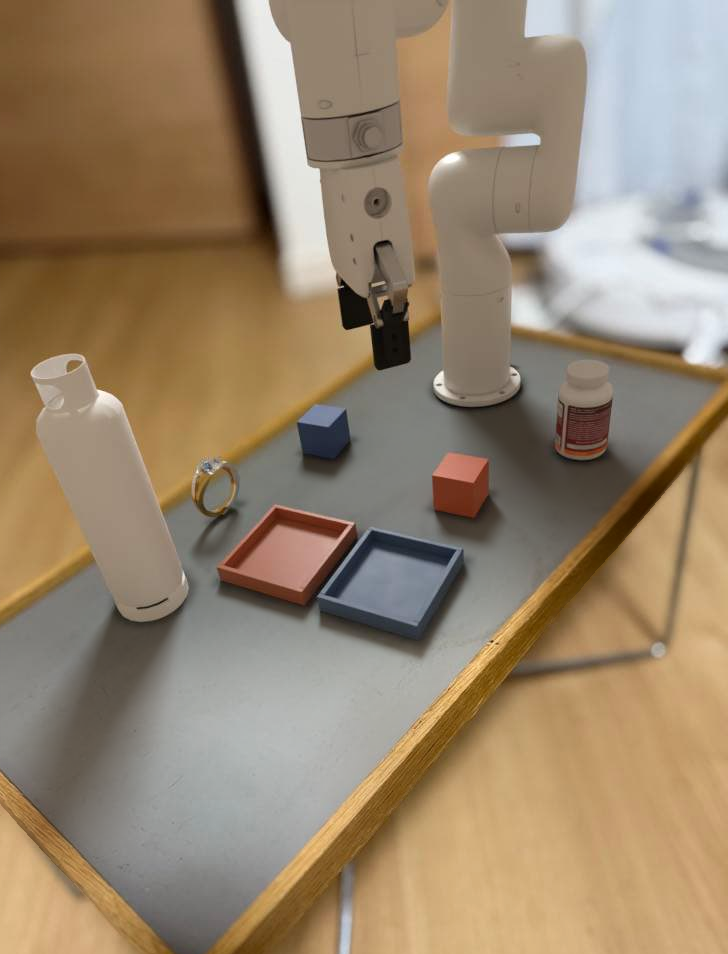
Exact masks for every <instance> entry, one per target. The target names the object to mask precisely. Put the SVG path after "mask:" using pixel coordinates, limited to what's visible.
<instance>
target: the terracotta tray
mask: <svg viewBox="0 0 728 954" xmlns="http://www.w3.org/2000/svg"><path fill="white" fill-rule="evenodd" d="M357 537H358V530H357V525H356V522H354V521H349V520H344V519H341V518H337V517H332V516H329V515H328V516H327V515H323V514H319V513H315V512H311V511H306V510H302V509H297V508H293V507H290V506H289V507H288V506H285V505H282V504H281V505H280V504H276V503H274V504H273V505H272V506H271V507H270V508H269V510H267V511H266V513H265V514H264V515H263V516H262V517H261V518H260V519H259V520H258V521H257V523H255V525H254V526H253V527H252V528H251V529H250V530H249V531H248V533H246V534H245V536H243V538H241V540H240V541H239V542H238V543H237V544H236V545H235V547H234V548H232V550H231V551H230V552H229V553H228V554H227V555H226V556H225V557H224V558H223V559H222V561H220V563H219V564H218V565H217V566H216V570H217V573H218V576H219V579H220V581H222V582H226V583H229V584H232V585H235V586H239V587H242V588H245V589H249V590H251V591H255V592H259V593H262V594H264V595H267V596H272V597H274V598H278V599H281V600H285V601H287V602H291V603H294V604H298V605H301V606H303V607H305V606H306V605H307V604H308V602H309V601H310V600H311V598H312V597H313V595H314V594H315V593H316V592H317V590H318V589H319V587H320V586H321V585H322V584H323V583H324V581H325V580H326V578H327V577H328V576H329V574H330V573H331V572H332V570H333V569H334V568H335V567H336V565H337V564H338V563H339V561H340V560H341V558H342V557H343V556H344V555H345V553H346V552H347V551H348V549H349V548H350V547H351V545H352V544H353V543H354V541H355V540H356V539H357Z"/></svg>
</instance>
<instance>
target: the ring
mask: <svg viewBox="0 0 728 954" xmlns="http://www.w3.org/2000/svg"><path fill="white" fill-rule="evenodd" d="M221 469H222V470H224V471H225V472H226V473H227V475H228V477H229V480H230V492H229V495H228V497H227V499H226V501H225V502H224V503H223V504H222V503H221V504H219V505H218V506H217V508H216V509H214V510H213V509H212V510H207V508H206V507H205V505H204V497H205V493H206V490H207V488H208V486H209V484H210V482H211V480H212V479H213V477H214V475H215V474H217V472H218V471H220V470H221ZM202 474H203V475H206V474H207V475H206V476H205V477H204V478H203V479H202V481H201V482H200V479H201V476H202ZM240 481H241V479H240V475H239V473H238V470H237V468H236V467H235V465H233V464H232V463H231V462H229V461H226V460H223V461H221V455H220V454H218V455H216V458H215V455H211V457H210V456H206V459H204V458H202V459H200V462H199V463H198V464H197V465H196V468H195V471H194V473H193V476H192V480H191V499H192V502H193V505H194V507H195V509H196V510H197V511H198V512H199V513H201V514H202V515H204V516H206V517H208V518H217V517H220V516H222V515H223V516H225V515H227V514H228V513H229V510H230V509H231V508H232V507H233V506H234V504H235V502H236V500H237V497H238V495H239V492H240V484H241V483H240Z"/></svg>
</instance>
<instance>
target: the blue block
mask: <svg viewBox="0 0 728 954" xmlns="http://www.w3.org/2000/svg"><path fill="white" fill-rule="evenodd" d="M349 425H350V424H349V419H348V412H347V408H344V407H336V406H331V405H324V404H318V403H315V404H313V406H311V408H309V409H308V410H307V411H306V412H305V413H304V414H303V415H302V416H301V417H300V418H299V419H298V420H297V421H296V427H297V432H298V437H299V441H300V447H301V451H302V454H305V455H311V456H316V457H320V458H326V459H331V460H334V459H336V457H337V456H338V455H339V454H340V453H341V451H342V450H343V449H344V448H345V447H346V446H347V445H348V444H349V443H350V441H352V439H351V433H350V432H351V431H350V426H349Z"/></svg>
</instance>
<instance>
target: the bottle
mask: <svg viewBox="0 0 728 954" xmlns="http://www.w3.org/2000/svg"><path fill="white" fill-rule="evenodd" d="M71 361H79V362H82V363H81V364H80V365H79V366H78V367H77V368H75V369H73V370H71V371H68V372H67V366H68V363H69V362H71ZM30 376H31V379H32V381H33V383H34V386H35V387H36V389H37V391H38V394H39V397H40V399H41V401H42V403H43V405H44V407H42V409H41V412H40V413H39V415H38V416H37V418H36V419H35V435H36V437H37V439H38V441H39V443H40V446H41V447H42V449H43V450H42V451H43V452H44V454H45V456H46V459H47V460H48V461H47V462H48V463H49V465H50V467H51V469H52V471H53V473H54V475H55V478H56V479H57V482H58V484H59V486H60V488H61V490H62V492H63V495H64V497H65V499H66V501H67V503H68V505H69V507H70V509H71V512H72V514H73V516H74V518H75V520H76V522H77V525H78V527H79V529H80V530H81V533H82V535H83V538H84V539H85V541H86V543H87V546H88V548H89V550H90V552H91V555H92V556H93V558H94V561H95V563H96V565H97V568H98V569H99V571H100V574H101V576H102V578H103V580H104V582H105V584H106V586H107V588H108V591H109V593H110V594H111V596H112V597H113V602H114V603H115V605H116V608H117V610H118V611H119V613H120V614H121V616H122V617H124V618H125V619H127V620H129V621H131V622H139V623H144V622H153V621H156V620H159V619H162V618H165V617H167V616H168V615H170V614H172V613H174V612H175V611H176V610H178V608H179V607H181V605H182V604H183V603H184V602H185V600H186V599H187V597H188V593H189V589H190V587H189V583H188V579H187V577H186V575H185V571H184V569H183V568H182V567H183V566H182V564H181V561H180V558H179V555H178V552H177V550H176V547H175V544H174V542H173V538H172V536H171V534H170V530H169V528H168V526H167V522H166V519H165V516H164V513H163V511H162V508H161V506H160V503H159V500H158V498H157V495H156V492H155V490H154V487H153V485H152V481H151V479H150V476H149V473H148V471H147V468H146V465H145V462H144V460H143V456H142V454H141V452H140V449H139V446H138V443H137V441H136V438H135V435H134V433H133V430H132V426H131V424H130V421H129V419H128V416H127V413H126V411H125V408H124V405H123V403H122V402H121V401H120V400H119V399H118V398H117V397H116V396H115V395H113V394H112V393H110V392H107V391H104V390H101V389H97V386H96V384H95V380H94V378H93V376H92V374H91V371H90V369H89V366H88V362H87V360H86V357H85V356H83V355H82V354H78V353H66V354H60V355H56V356H52V357H50V358H48V359H45V360H43V361H41V362H40V363H37V364H36V365H35V366H34V367H33V368H32V370H31V371H30ZM162 601H163V602H162ZM160 602H161V603H160ZM158 603H159V604H158ZM156 604H157V605H156Z"/></svg>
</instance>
